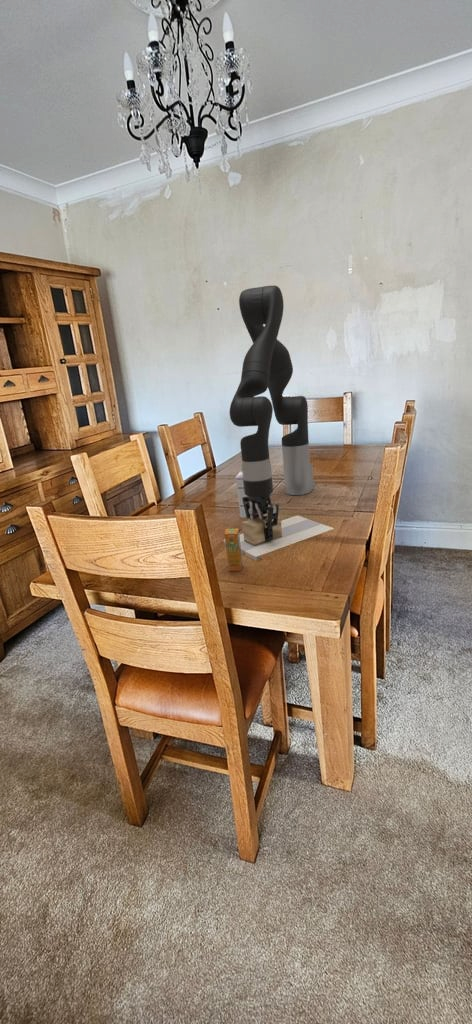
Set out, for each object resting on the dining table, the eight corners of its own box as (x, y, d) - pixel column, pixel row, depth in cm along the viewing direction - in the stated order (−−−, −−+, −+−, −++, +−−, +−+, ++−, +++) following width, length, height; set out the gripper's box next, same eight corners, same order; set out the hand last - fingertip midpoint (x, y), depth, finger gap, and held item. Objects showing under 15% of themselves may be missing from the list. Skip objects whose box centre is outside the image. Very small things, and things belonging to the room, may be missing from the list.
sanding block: (271, 532, 133) (269, 513, 131) (282, 536, 129) (280, 517, 127) (244, 541, 129) (242, 521, 127) (254, 546, 125) (252, 526, 123)
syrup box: (258, 520, 147) (254, 474, 142) (240, 521, 148) (235, 475, 143) (261, 514, 152) (257, 470, 147) (243, 515, 153) (238, 471, 149)
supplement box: (227, 572, 115) (223, 533, 112) (230, 565, 118) (225, 528, 115) (241, 571, 114) (237, 532, 111) (243, 565, 117) (239, 527, 114)
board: (297, 519, 144) (297, 515, 144) (334, 532, 131) (334, 528, 131) (223, 543, 132) (223, 539, 132) (256, 561, 119) (255, 556, 119)
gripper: (285, 477, 119) (290, 540, 125) (254, 468, 131) (259, 526, 137) (260, 484, 116) (266, 548, 121) (230, 474, 128) (237, 534, 133)
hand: (263, 536), depth 129 cm, fingers closed on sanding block, 5 cm apart
